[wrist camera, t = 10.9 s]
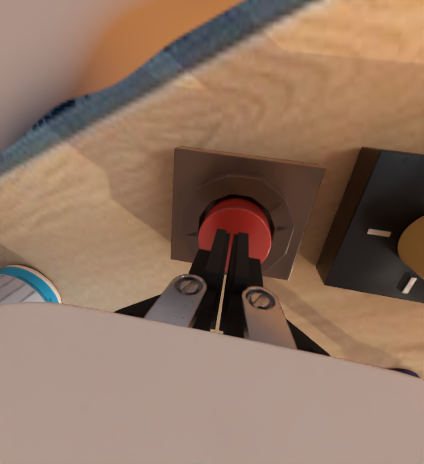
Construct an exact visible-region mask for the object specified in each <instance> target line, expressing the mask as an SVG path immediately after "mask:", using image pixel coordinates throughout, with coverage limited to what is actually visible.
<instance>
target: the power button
mask: <svg viewBox="0 0 424 464" xmlns="http://www.w3.org/2000/svg"><path fill="white" fill-rule="evenodd" d="M217 228H218V229H225V230H227V233H231V235H230V241H229V248H228V254H227V260H226V267H225V271H226V272H227V271H228V265H229V259H230V253H231V248H232V242H233V236H234V234H238V232H243V233H248V234H249V257H250V258H256V259H260V261H261V263H262V262H263V261H264V260H265V259H266V257H267V256H268V254H269V251H270V248H271V233H270V229H269V224H268V220H267V217H266V215H265V214H264V212H263V211H262V210H261V208H260V207H258V206H257V205H256V204H254V203H253V202H251V201H248V200H246V199H241V198H231V199H226V200H223V201H221V202H219V203H217V204H216V205H214V206H213V207H212V208H211V209H210V210H209V212H208V213H207V215H206V217H205V219H204V221H203V223H202V226H201V228H200V230H199V235H198V243H199V247H200V249H203V250H209V251H211V248H212V244H213V241H214V238H215V234H216V231H217Z"/></svg>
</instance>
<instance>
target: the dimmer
mask: <svg viewBox="0 0 424 464" xmlns="http://www.w3.org/2000/svg"><path fill="white" fill-rule="evenodd" d="M422 216H424V154H417V153H409V152H401V151H393V150H385V149H377V148H369V147H362V148H361V151H360V154H359V156H358V159H357V161H356V164H355V167H354V169H353V172H352V174H351V177H350V180H349V182H348V185H347V187H346V190H345V193H344V195H343V198H342V200H341V203H340V206H339V208H338V211H337V213H336V216H335V219H334V221H333V224H332V226H331V229H330V232H329V234H328V237H327V239H326V242H325V245H324V247H323V250H322V252H321V255H320V258H319V260H318V263H317V265H316V269H317V271H318V273H319V275H320V277H321V279H322V281H323V283H324V285H327V286H332V287H338V288H343V289H349V290H354V291H360V292H366V293H371V294H377V295H382V296H388V297H393V298H399V299H404V300H410V301H415V302H421V303H424V279H423V278H421V277H420V276H419V275H418V274H417V273H416V272H414V271H413V270H412V269H411V268H410V267H409V266H407V265H406V264H405V263H404V262H403V261H402V260H401V259H400V257H399V254H398V242H399V239H400V237H401V235H402V233H403V232H404V231H405V229H406V228H407V227H408V226H409V225H410V224H412V223H413V222H414V221H416V220H417V219H419V218H421V217H422Z"/></svg>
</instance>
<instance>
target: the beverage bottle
mask: <svg viewBox="0 0 424 464" xmlns="http://www.w3.org/2000/svg"><path fill="white" fill-rule="evenodd" d="M19 302H52V303H62V302H61V297H60V295H59V292H58V291H57V289H56V288H55V286H54V285H53V284H52V283H51V282H50V281H49V280H48V279H47V278H46V277H45V276H44V275H42V274H41V273H39V272H37V271H35V270H33V269H31V268H28V267H25V266H21V265H9V266H5V267H3V268H0V305H2V304H8V303H19Z"/></svg>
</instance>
